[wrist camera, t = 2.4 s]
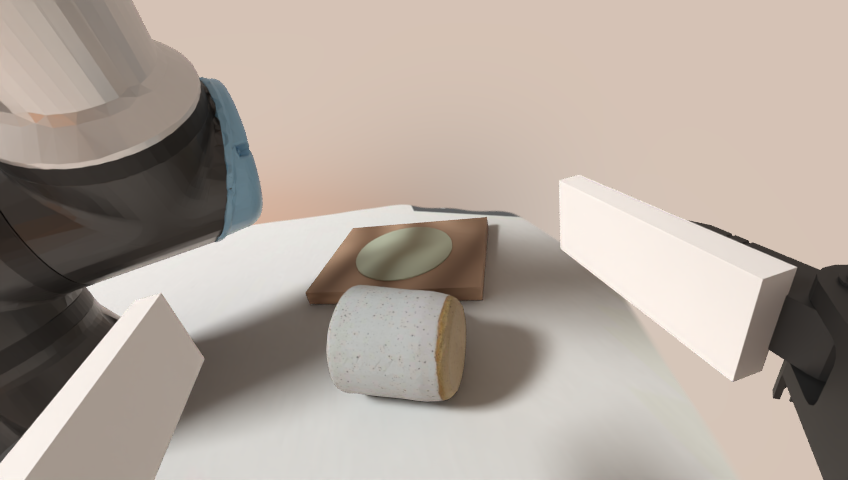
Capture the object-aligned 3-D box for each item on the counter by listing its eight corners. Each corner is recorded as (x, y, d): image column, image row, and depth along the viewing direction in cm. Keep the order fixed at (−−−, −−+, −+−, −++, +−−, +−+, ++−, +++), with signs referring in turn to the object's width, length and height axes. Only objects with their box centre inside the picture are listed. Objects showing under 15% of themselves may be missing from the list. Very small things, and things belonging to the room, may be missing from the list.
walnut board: (310, 304, 38) (304, 291, 37) (356, 237, 50) (352, 227, 49) (482, 299, 34) (480, 285, 33) (488, 227, 45) (486, 215, 45)
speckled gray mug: (458, 429, 23) (439, 339, 20) (344, 416, 25) (308, 333, 22) (478, 318, 32) (467, 242, 28) (391, 315, 34) (372, 245, 31)
